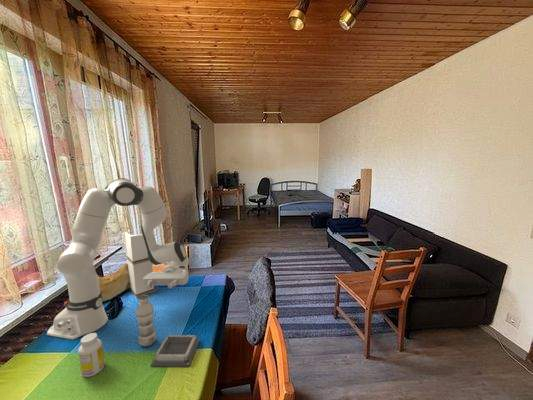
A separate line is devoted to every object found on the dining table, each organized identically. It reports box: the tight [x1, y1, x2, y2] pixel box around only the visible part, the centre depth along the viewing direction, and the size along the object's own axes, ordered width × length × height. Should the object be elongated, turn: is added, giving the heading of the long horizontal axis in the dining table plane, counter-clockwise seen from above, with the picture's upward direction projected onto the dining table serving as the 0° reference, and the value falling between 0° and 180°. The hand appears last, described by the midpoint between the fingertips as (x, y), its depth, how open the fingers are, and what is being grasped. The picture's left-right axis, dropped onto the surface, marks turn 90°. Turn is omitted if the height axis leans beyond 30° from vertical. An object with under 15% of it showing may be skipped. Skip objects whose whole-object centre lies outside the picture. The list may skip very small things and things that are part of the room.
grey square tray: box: [150, 334, 201, 368], centre depth 92 cm, size 14×13×3 cm
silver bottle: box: [135, 294, 157, 348], centre depth 96 cm, size 6×7×20 cm
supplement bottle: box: [77, 332, 105, 378], centre depth 84 cm, size 7×7×13 cm
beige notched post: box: [124, 231, 157, 299], centre depth 136 cm, size 11×11×35 cm
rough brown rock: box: [98, 263, 130, 303], centre depth 136 cm, size 23×17×15 cm
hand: (158, 286), depth 107 cm, fingers open, 8 cm apart
